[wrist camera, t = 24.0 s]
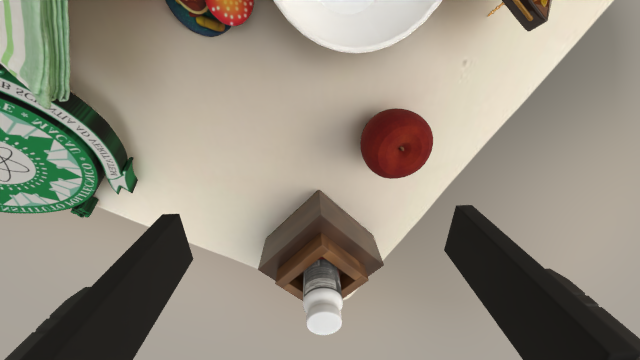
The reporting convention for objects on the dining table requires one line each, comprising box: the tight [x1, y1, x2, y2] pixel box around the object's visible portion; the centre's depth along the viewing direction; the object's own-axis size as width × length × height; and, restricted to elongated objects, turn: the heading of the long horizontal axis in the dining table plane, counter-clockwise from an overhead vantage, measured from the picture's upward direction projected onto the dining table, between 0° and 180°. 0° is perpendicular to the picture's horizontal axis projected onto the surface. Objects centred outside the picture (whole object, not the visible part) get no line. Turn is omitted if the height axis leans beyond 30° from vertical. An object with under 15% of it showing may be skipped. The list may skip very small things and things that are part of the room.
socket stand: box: [258, 190, 384, 301], centre depth 43 cm, size 15×15×11 cm
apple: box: [360, 109, 433, 179], centre depth 35 cm, size 10×10×10 cm
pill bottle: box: [303, 257, 343, 335], centre depth 36 cm, size 6×6×10 cm
